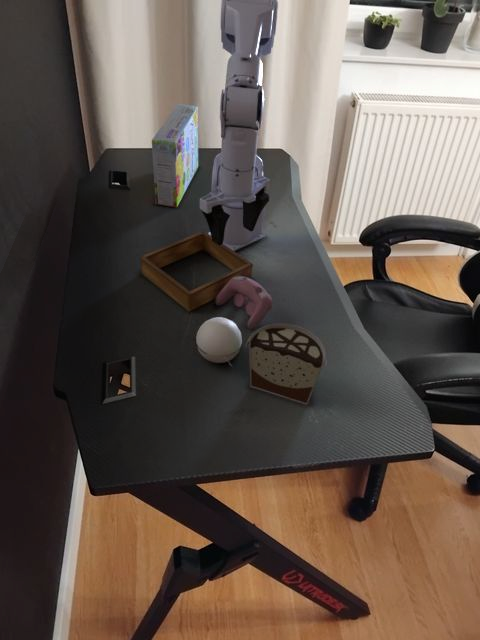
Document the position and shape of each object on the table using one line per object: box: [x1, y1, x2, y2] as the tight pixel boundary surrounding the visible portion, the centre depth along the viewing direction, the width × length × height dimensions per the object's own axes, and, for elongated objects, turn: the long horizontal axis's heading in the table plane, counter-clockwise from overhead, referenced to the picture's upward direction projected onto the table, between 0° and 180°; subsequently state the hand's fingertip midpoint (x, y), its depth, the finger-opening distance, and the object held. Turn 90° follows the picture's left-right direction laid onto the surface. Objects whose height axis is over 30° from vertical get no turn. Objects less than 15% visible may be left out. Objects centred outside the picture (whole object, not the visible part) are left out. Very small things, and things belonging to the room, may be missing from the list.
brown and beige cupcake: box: [244, 323, 327, 406], centre depth 86 cm, size 12×6×10 cm, turn 71°
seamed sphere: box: [194, 316, 243, 367], centre depth 89 cm, size 10×7×7 cm
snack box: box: [151, 103, 199, 208], centre depth 128 cm, size 21×6×15 cm, turn 172°
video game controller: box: [215, 276, 274, 330], centre depth 100 cm, size 10×5×7 cm, turn 45°
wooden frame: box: [139, 230, 254, 312], centre depth 107 cm, size 15×14×4 cm
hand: (233, 235), depth 102 cm, fingers open, 7 cm apart
